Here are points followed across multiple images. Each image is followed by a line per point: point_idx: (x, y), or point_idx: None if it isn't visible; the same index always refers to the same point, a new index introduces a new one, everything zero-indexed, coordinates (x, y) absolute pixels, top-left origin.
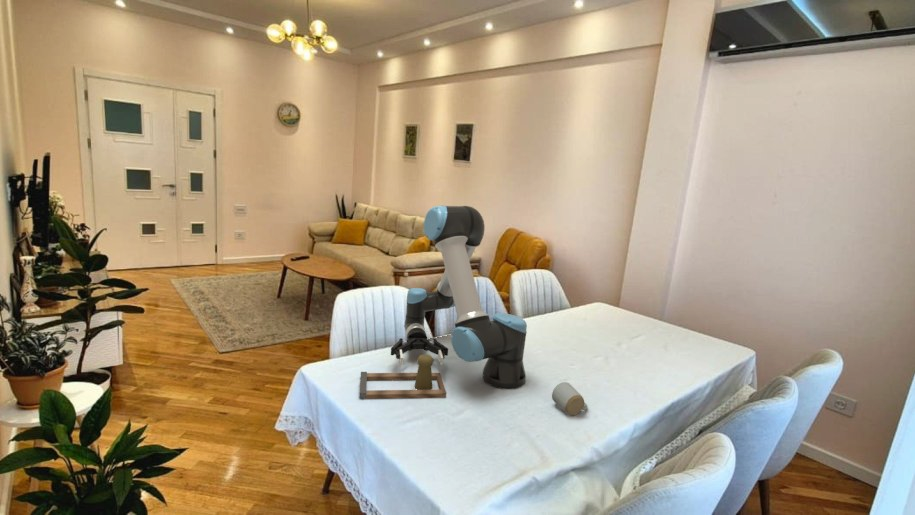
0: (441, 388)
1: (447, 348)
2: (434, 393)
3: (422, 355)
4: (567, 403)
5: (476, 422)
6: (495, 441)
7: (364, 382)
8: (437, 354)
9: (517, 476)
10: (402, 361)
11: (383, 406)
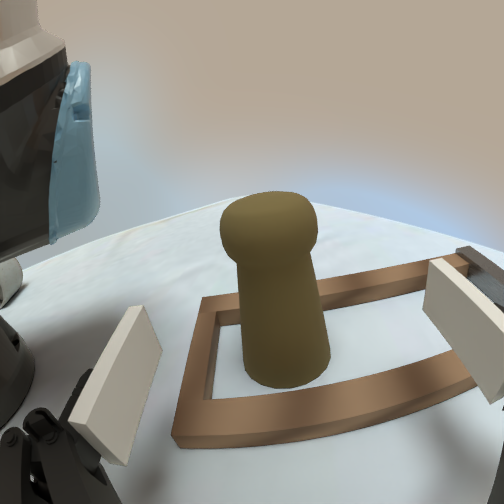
0: (210, 316)
1: (5, 435)
2: None
3: (283, 196)
4: (17, 261)
5: (171, 258)
6: (165, 239)
7: (500, 278)
8: (115, 493)
9: (174, 217)
10: (427, 286)
11: (395, 257)
